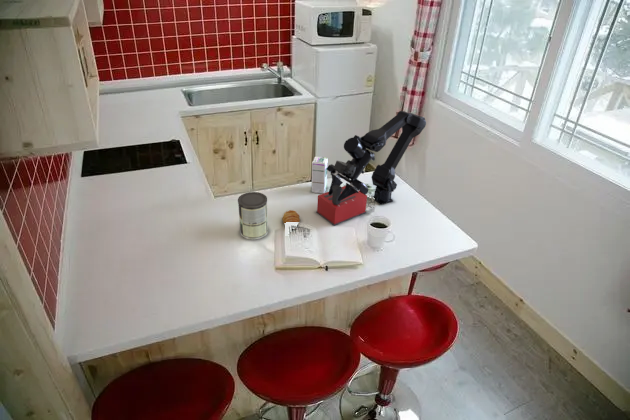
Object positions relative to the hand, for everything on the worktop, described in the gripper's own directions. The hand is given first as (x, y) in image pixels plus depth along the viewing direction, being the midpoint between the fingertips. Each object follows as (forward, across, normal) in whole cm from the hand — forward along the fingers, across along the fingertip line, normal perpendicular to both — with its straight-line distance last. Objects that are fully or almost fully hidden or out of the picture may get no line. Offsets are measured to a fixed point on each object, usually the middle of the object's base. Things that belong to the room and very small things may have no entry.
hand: (333, 197), depth 163 cm
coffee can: (+28, -11, -12) cm, 32 cm away
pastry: (+17, -8, -1) cm, 19 cm away
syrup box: (0, -23, +16) cm, 28 cm away
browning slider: (+1, 0, +3) cm, 3 cm away
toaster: (+3, -3, +13) cm, 14 cm away
